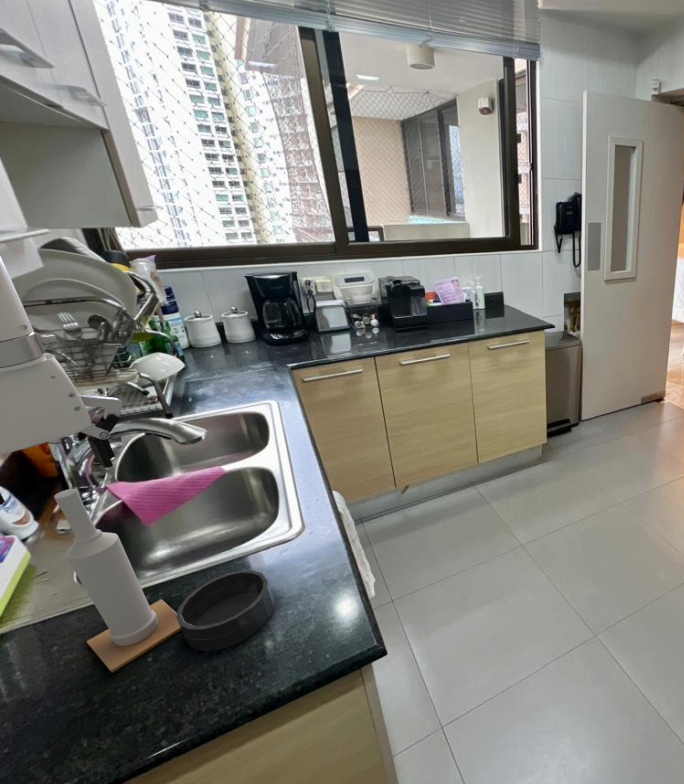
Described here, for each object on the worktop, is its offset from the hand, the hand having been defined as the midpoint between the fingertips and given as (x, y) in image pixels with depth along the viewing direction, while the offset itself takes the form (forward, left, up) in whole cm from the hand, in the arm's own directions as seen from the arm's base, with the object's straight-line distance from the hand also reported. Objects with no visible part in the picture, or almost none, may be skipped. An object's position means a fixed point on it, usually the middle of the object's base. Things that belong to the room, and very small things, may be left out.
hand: (55, 481), depth 59 cm
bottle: (0, 0, -27) cm, 27 cm away
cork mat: (0, 0, -27) cm, 27 cm away
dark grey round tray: (+9, +9, -27) cm, 30 cm away
